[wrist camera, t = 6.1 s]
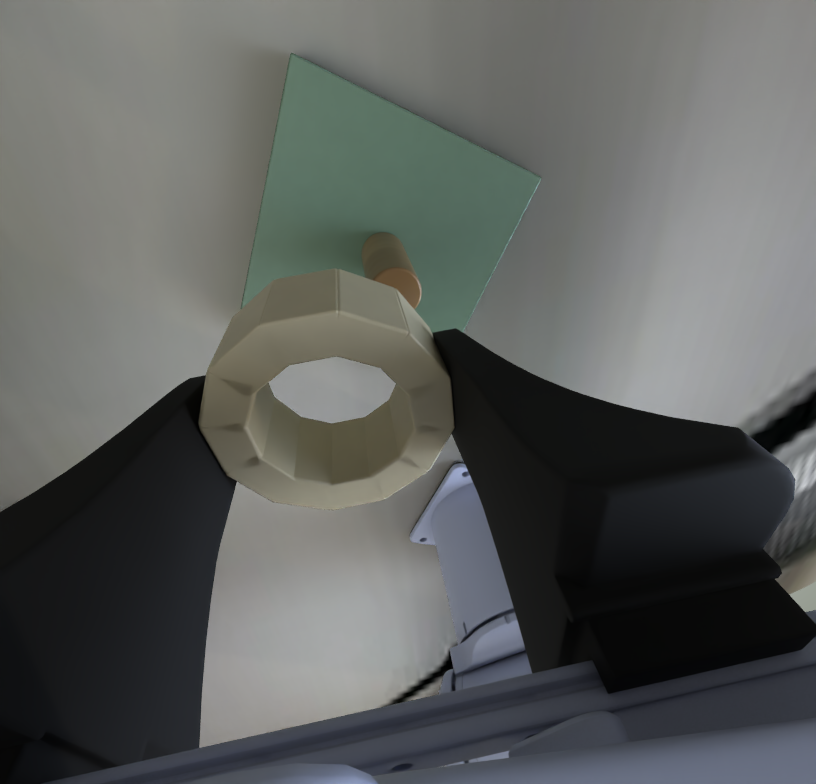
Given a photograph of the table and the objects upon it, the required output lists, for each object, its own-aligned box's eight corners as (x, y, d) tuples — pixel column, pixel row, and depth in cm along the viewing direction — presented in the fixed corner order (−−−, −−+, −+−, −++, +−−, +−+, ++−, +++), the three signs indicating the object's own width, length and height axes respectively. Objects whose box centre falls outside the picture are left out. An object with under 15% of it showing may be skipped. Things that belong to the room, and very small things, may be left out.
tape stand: (532, 174, 17) (601, 199, 13) (435, 367, 22) (461, 435, 18) (293, 54, 14) (273, 32, 9) (242, 313, 19) (212, 378, 14)
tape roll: (466, 311, 11) (496, 359, 9) (391, 459, 14) (401, 521, 12) (247, 236, 9) (221, 274, 7) (211, 424, 12) (186, 491, 10)
